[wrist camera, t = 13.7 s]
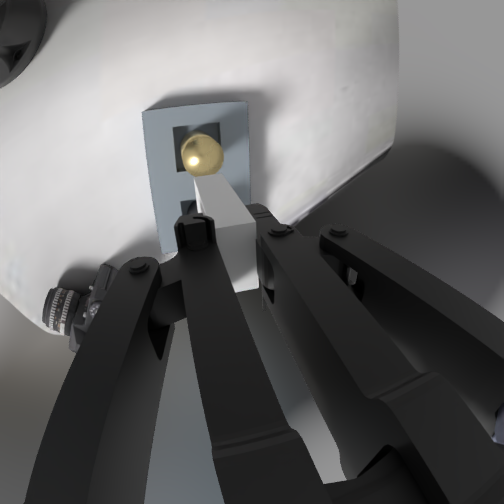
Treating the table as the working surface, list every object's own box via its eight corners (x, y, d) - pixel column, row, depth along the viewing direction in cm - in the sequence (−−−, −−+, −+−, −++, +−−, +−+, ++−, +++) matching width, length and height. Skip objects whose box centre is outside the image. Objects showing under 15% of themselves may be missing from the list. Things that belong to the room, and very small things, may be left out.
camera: (57, 247, 36) (35, 287, 28) (125, 268, 41) (119, 313, 32) (50, 319, 41) (36, 362, 32) (108, 336, 45) (104, 381, 37)
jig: (144, 111, 31) (136, 113, 24) (241, 101, 34) (259, 101, 27) (162, 243, 40) (162, 274, 33) (246, 230, 43) (262, 258, 36)
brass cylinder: (177, 133, 33) (180, 141, 26) (210, 127, 34) (221, 135, 27) (182, 164, 35) (185, 181, 28) (214, 159, 36) (226, 174, 29)
